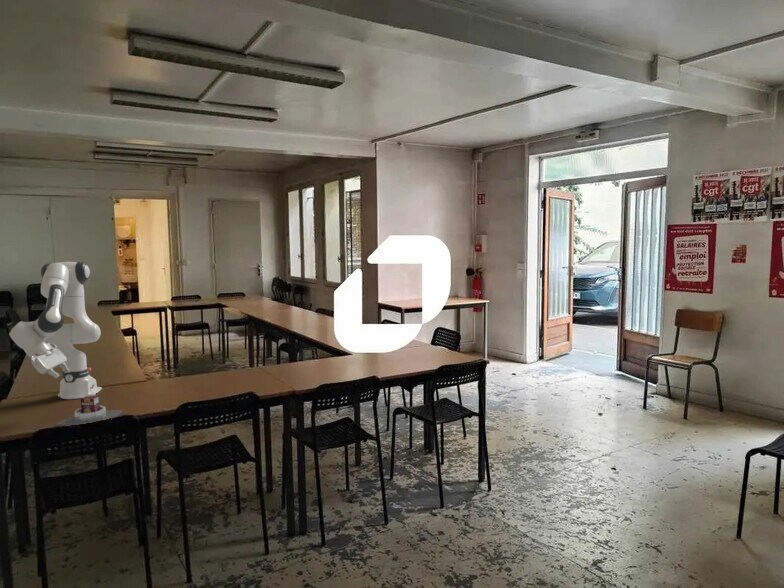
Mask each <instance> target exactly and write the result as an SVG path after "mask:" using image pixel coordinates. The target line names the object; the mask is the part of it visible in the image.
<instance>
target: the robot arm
mask: <svg viewBox="0 0 784 588" xmlns="http://www.w3.org/2000/svg"><path fill="white" fill-rule="evenodd" d="M90 274H91V270H90V267H89V265H88V264H87V263H86V262H83V261H61V262H60V261H59V262H49V263H45V264H43V266H42V267H41V269H40V276H41V279H42V280H41V284H40V294H41V295H42V297H44V298H46V304H45V309H44V310H43V311H42V312H41V313H40V315H39V316H38V318H37V319H35V320H33V321H22V320H20V321H18V322H17V323H16V324H15V325H14V326H12V327H11V329H10V330H9V332H8V335H9V337H10V339H11V340H12V341H13V342H14V343H15V345H17V346H18V347H19V348H20V349H22V350H23V351H24V352H25V354H26V355H27V356H28V357H29V358H30V362H31V365H32V366H33V367H34V369H35V370H36V371H37V372H38V373H39V374H41V375H44V374H46V373H47V375H48V374H49V375H50V376H51V377H53V378H55V379H58V378H59V377H60V376H61V378H62V379H61V380H60V383H59V393H58V394H57V397H59V398H60V399H64V400H75V399H76V400H77V399H81V398H83V397H85V396H96V395H97V394H98V393H99V392H100V391H101V390H103V388H102V387H101V386H98V385H97V384H98V383H97V380H96V379H95V378H94V377H93V376H91V375H90V372H91V371H92V367H87V366H88V364H87V355H86V353H85V352H83V351H81V350H79V349H77V348H76V347H74V345H79V344H80V345H83V344H90V343H94V342H97V341H98V340H99V339H100V338H101V335H102V332H101V328H100V326H99V325H98V324H97V323H95V322H93V321H92V320H91V319H90V318H89V316H88V314H87V312H86V305H85V304H86V303H85V290H84V289H85V288H84V284H85V282H87V281H89V280H88V279H89V278H90ZM65 316H66V317H68V318H71V319H73V323H65V318H64V317H65ZM58 367H59V368H61V369H62V371H61V375H60V373H59V372H56V371H55V369H57V368H58ZM96 393H97V394H96Z"/></svg>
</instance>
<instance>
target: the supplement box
mask: <svg viewBox="0 0 784 588" xmlns="http://www.w3.org/2000/svg"><path fill="white" fill-rule="evenodd" d="M99 403H100V397H99V395H94V396H85V397H83V398H80V408H81V413H89V412H95V411H99V405H100V404H99Z"/></svg>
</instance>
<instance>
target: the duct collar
mask: <svg viewBox="0 0 784 588" xmlns="http://www.w3.org/2000/svg"><path fill="white" fill-rule="evenodd" d="M123 412H124V411H123V409H107V407H106V405H105V406H104V405H101V404H99V411H95V412H89V413H81V407H79V408H77V409H75V410H74V413H73V414H71V415H69V416H68V417H66V418H64V419H62V420H61V421H59V422H57V423H55V427H72V426H71V425H79V424H86V423H92V422H96V421H100V420H106V419H109V418H113V417H114V418H117V416H119V415H121V414H123ZM114 418H113V419H114Z"/></svg>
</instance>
